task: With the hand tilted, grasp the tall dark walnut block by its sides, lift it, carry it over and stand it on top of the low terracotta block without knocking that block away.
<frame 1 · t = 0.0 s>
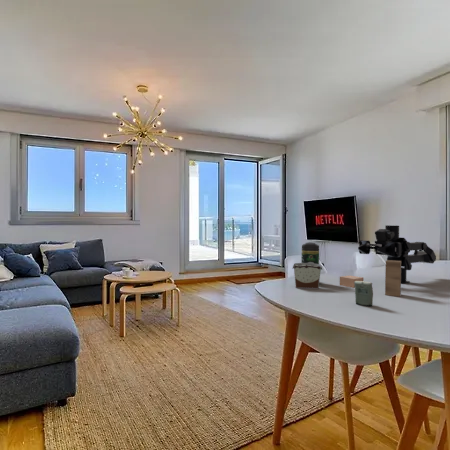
hand: (367, 248, 143), 17 cm above the table, tool horizontal, fingers open, 9 cm apart
terracotta block: (351, 286, 146), on the table
coffee jar: (309, 283, 152), on the table
grey-green rounded block: (363, 305, 111), on the table
walnut block: (392, 294, 128), on the table
food container: (306, 287, 142), on the table
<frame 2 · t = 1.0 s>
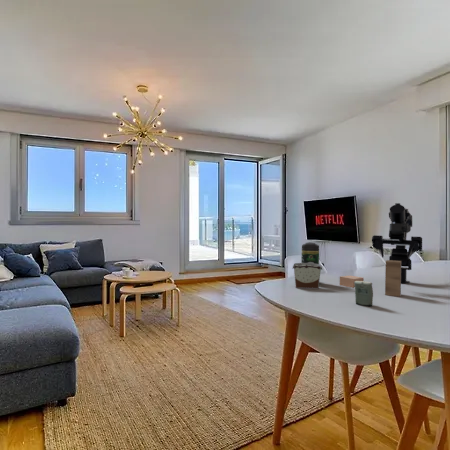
hand: (395, 257, 135), 14 cm above the table, tool tilted 45°, fingers open, 9 cm apart
nothing on the table moved.
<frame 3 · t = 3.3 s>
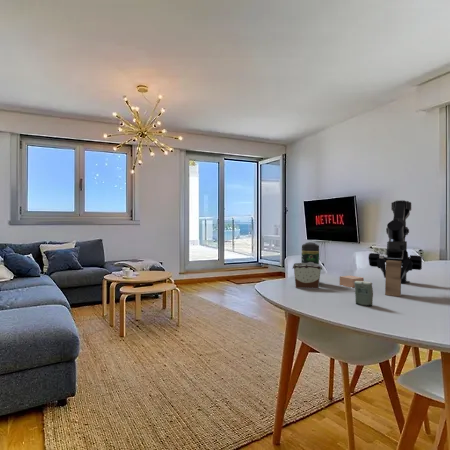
hand: (392, 277, 127), 7 cm above the table, tool tilted 45°, fingers closed on walnut block, 5 cm apart
walnut block: (393, 294, 128), on the table, touching gripper
everything else where it was.
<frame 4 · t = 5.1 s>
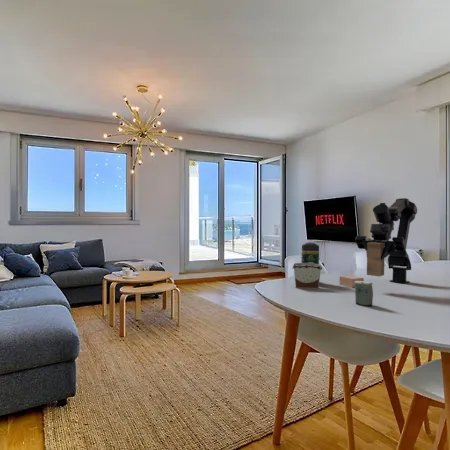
hand: (374, 258, 133), 13 cm above the table, tool tilted 45°, fingers closed on walnut block, 5 cm apart
walnut block: (375, 274, 134), point 7 cm above the table, touching gripper
everything else where it was.
when the fingers open (11 cm above the table, at t = 6.7 s): walnut block drops 1 cm, resting on terracotta block.
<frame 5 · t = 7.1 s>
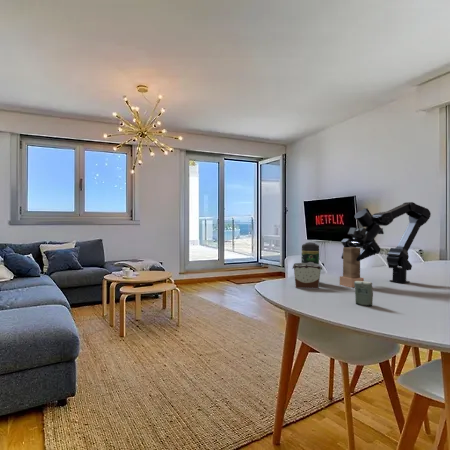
hand: (349, 259, 146), 12 cm above the table, tool tilted 45°, fingers open, 9 cm apart
terracotta block: (351, 286, 146), on the table, touching walnut block
walnut block: (351, 277, 146), point 4 cm above the table, touching terracotta block
everything else where it was.
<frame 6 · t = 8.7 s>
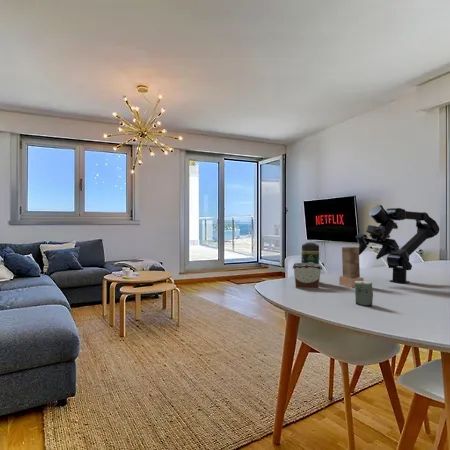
hand: (367, 256, 148), 13 cm above the table, tool tilted 40°, fingers open, 9 cm apart
terracotta block: (351, 286, 146), on the table
walnut block: (351, 276, 146), point 4 cm above the table
everything else where it was.
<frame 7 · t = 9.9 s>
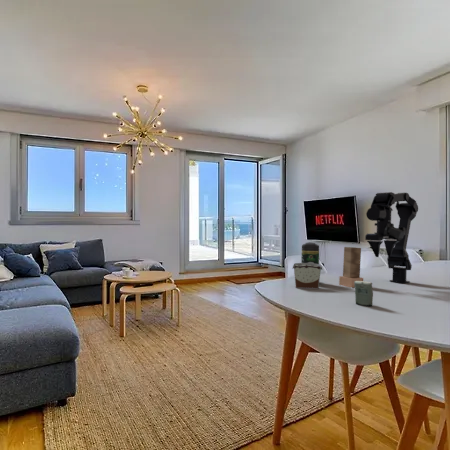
hand: (383, 256, 146), 13 cm above the table, tool pointing down, fingers open, 9 cm apart
terracotta block: (351, 286, 146), on the table, touching walnut block
walnut block: (351, 276, 147), point 4 cm above the table, touching terracotta block
everything else where it was.
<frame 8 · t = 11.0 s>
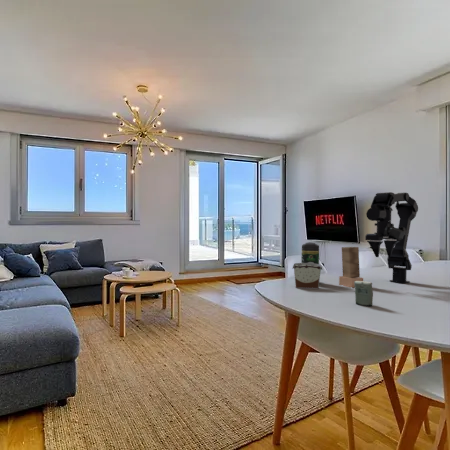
hand: (383, 256, 145), 13 cm above the table, tool pointing down, fingers open, 9 cm apart
at the end: walnut block 0.3 cm off-centre on the terracotta block, point 4.2 cm above the terracotta block's base; walnut block tilted 4°; the gripper is holding nothing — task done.
